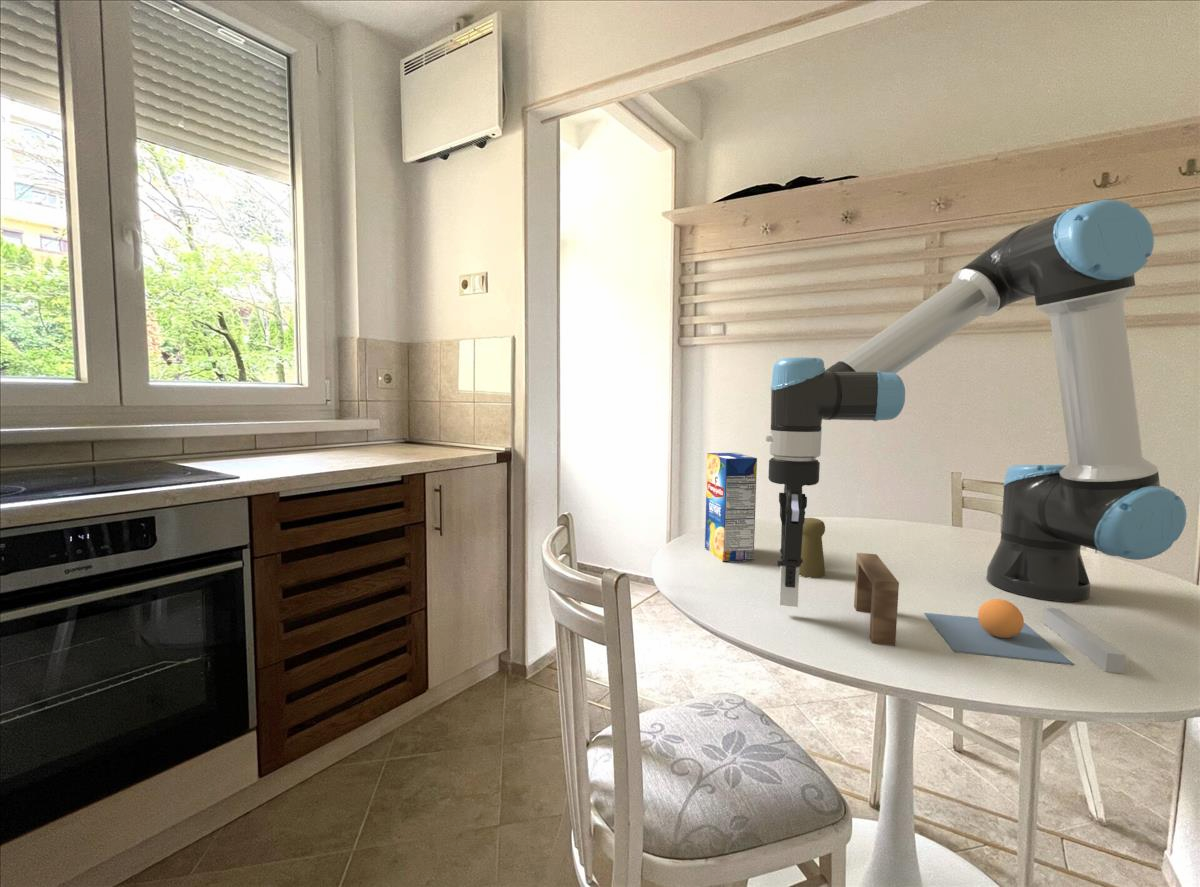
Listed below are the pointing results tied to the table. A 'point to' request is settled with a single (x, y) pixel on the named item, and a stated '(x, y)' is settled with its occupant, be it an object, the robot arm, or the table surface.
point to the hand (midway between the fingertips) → (788, 604)
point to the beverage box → (730, 506)
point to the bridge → (877, 597)
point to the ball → (1000, 618)
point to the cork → (812, 549)
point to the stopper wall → (1085, 641)
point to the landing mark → (994, 640)
